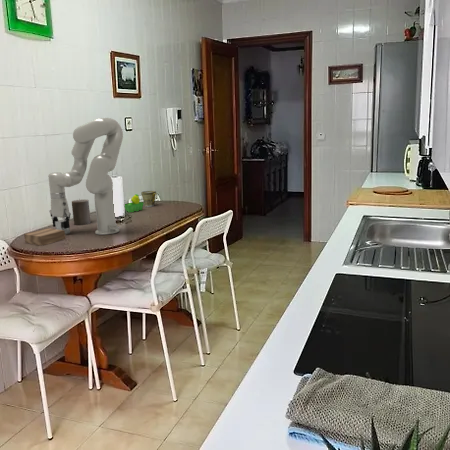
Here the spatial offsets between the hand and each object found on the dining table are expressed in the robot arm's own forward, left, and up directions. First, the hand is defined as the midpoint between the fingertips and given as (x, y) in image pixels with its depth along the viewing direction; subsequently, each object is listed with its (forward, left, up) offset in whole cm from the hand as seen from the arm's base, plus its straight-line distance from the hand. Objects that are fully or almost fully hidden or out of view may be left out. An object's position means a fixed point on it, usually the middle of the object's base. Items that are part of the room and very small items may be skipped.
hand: (61, 227), depth 267 cm
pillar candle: (+11, -22, -4) cm, 25 cm away
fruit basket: (+9, -62, -4) cm, 63 cm away
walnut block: (-7, +15, -4) cm, 17 cm away
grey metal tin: (-1, 0, -4) cm, 4 cm away
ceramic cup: (+11, -79, -4) cm, 80 cm away
